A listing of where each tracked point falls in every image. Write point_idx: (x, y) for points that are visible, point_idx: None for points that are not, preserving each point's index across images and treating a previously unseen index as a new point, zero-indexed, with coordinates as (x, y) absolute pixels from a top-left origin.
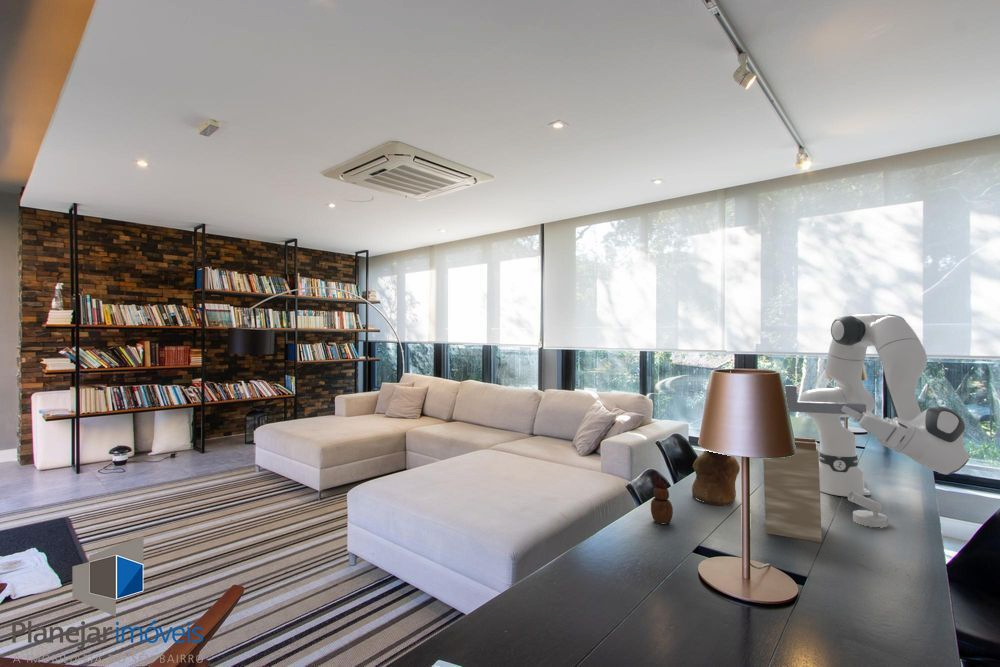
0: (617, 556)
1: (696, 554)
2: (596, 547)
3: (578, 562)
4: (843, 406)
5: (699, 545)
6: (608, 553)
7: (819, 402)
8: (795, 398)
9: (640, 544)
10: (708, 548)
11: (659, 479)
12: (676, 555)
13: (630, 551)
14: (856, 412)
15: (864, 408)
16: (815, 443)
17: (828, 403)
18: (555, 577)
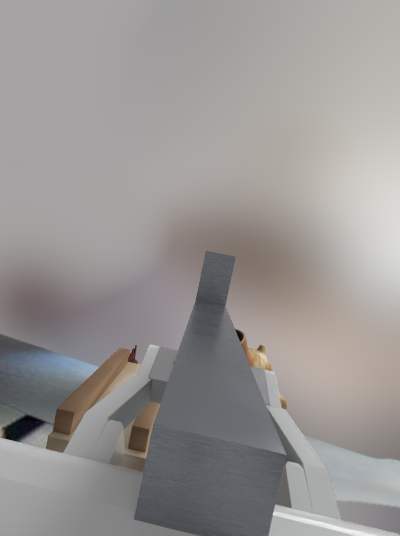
0: (33, 367)
1: (17, 417)
2: (57, 359)
3: (28, 351)
4: (151, 345)
5: (45, 423)
6: (42, 363)
7: (211, 316)
8: (198, 288)
9: (59, 380)
10: (32, 430)
11: (132, 351)
12: (21, 401)
13: (43, 374)
14: (90, 411)
15: (147, 456)
16: (61, 407)
17: (189, 320)
18: (5, 343)
